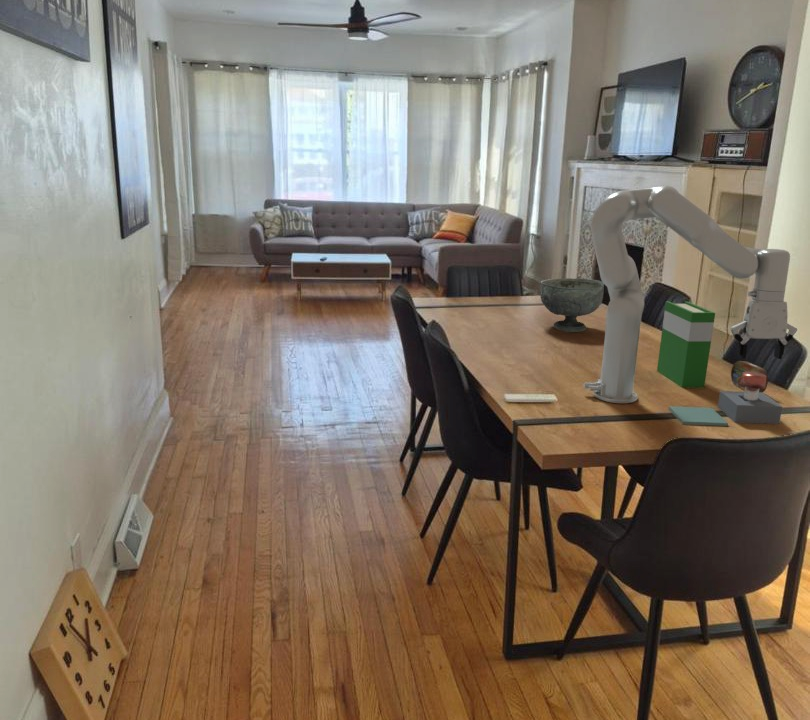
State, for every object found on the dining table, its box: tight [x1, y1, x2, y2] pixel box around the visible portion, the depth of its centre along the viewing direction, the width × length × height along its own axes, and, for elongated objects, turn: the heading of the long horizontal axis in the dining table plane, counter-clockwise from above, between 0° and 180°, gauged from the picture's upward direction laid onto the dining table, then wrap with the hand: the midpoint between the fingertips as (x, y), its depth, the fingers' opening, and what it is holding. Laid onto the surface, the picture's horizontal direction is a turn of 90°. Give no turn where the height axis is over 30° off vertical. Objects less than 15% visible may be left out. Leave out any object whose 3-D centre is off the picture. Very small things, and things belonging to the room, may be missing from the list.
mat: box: [668, 405, 729, 427], centre depth 195 cm, size 12×12×1 cm
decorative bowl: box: [539, 277, 605, 333], centre depth 292 cm, size 26×26×20 cm
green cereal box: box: [656, 300, 716, 389], centre depth 226 cm, size 18×7×24 cm, turn 6°
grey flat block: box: [717, 390, 783, 425], centre depth 197 cm, size 12×12×5 cm
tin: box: [730, 360, 769, 393], centre depth 219 cm, size 15×3×8 cm, turn 9°
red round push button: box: [741, 372, 767, 402], centre depth 196 cm, size 6×6×12 cm
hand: (759, 357), depth 193 cm, fingers open, 9 cm apart
